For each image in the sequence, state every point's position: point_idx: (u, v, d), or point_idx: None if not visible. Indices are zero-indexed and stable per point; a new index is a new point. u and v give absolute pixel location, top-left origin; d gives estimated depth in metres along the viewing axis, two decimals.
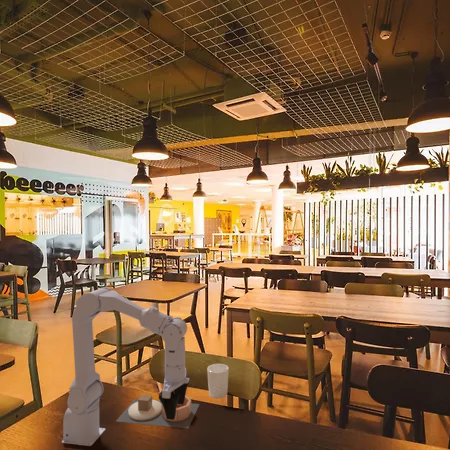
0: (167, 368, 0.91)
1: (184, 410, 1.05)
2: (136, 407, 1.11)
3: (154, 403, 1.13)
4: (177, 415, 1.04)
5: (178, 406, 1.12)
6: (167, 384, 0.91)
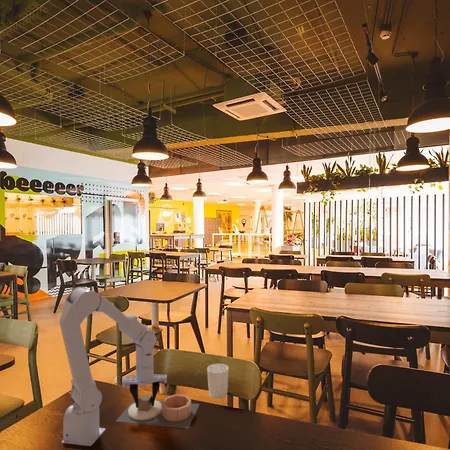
0: None
1: (184, 410, 1.05)
2: None
3: (154, 403, 1.13)
4: (177, 415, 1.04)
5: (178, 406, 1.12)
6: (135, 378, 1.11)
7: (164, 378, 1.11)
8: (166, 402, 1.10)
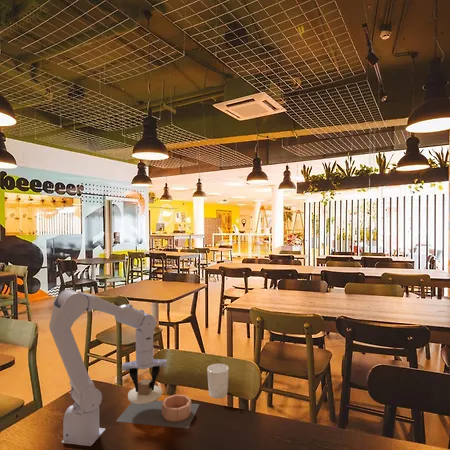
0: None
1: (184, 410, 1.05)
2: None
3: None
4: (177, 415, 1.04)
5: (178, 406, 1.12)
6: (135, 362, 1.11)
7: (164, 362, 1.11)
8: (166, 402, 1.10)
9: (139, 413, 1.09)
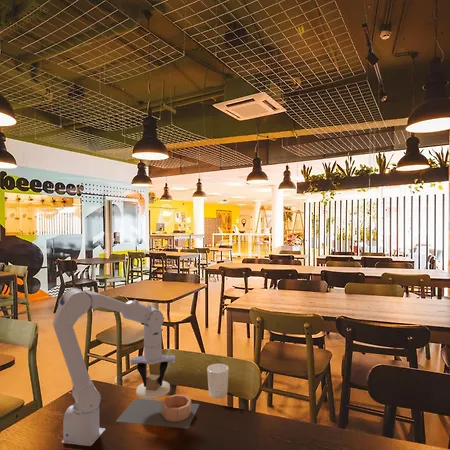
0: None
1: (184, 410, 1.05)
2: None
3: (162, 383, 1.13)
4: (177, 415, 1.04)
5: (178, 406, 1.12)
6: (144, 357, 1.11)
7: (172, 358, 1.10)
8: (166, 402, 1.10)
9: (139, 413, 1.09)
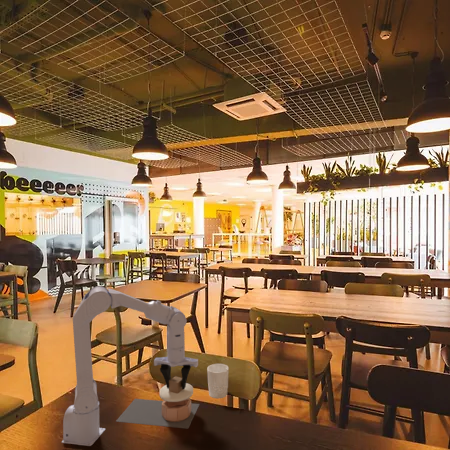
0: None
1: (184, 410, 1.05)
2: (168, 388, 1.10)
3: (186, 387, 1.11)
4: (177, 415, 1.04)
5: (178, 406, 1.12)
6: None
7: (194, 362, 1.07)
8: (166, 402, 1.10)
9: (139, 413, 1.09)
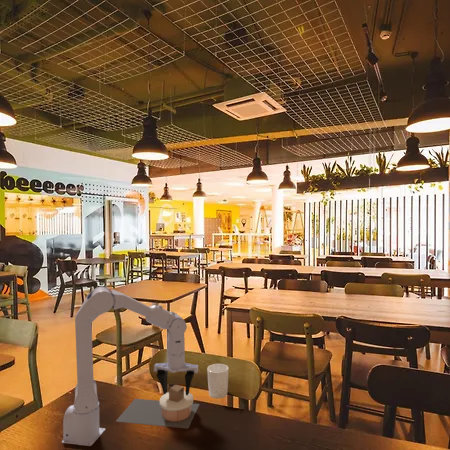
0: None
1: (184, 410, 1.05)
2: (168, 396, 1.10)
3: (186, 395, 1.11)
4: (177, 415, 1.04)
5: None
6: None
7: (194, 368, 1.07)
8: None
9: (139, 413, 1.09)
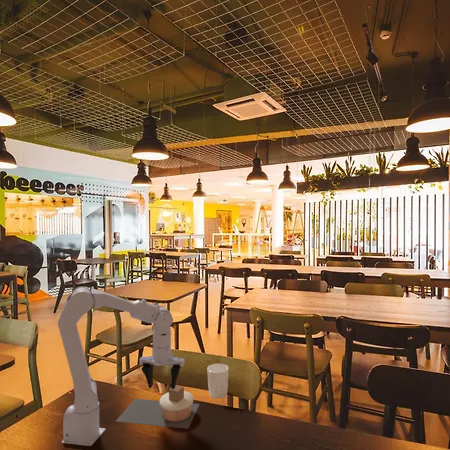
0: None
1: (184, 410, 1.05)
2: (168, 396, 1.10)
3: (186, 395, 1.11)
4: (177, 415, 1.04)
5: None
6: None
7: (180, 362, 1.05)
8: None
9: (139, 413, 1.09)
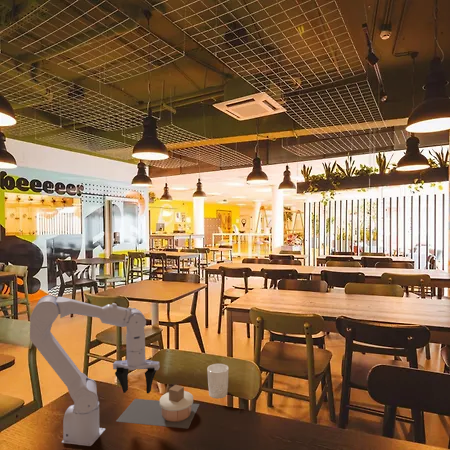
0: None
1: (184, 410, 1.05)
2: (168, 396, 1.10)
3: (186, 395, 1.11)
4: (177, 415, 1.04)
5: None
6: None
7: (155, 365, 1.02)
8: None
9: (139, 413, 1.09)
